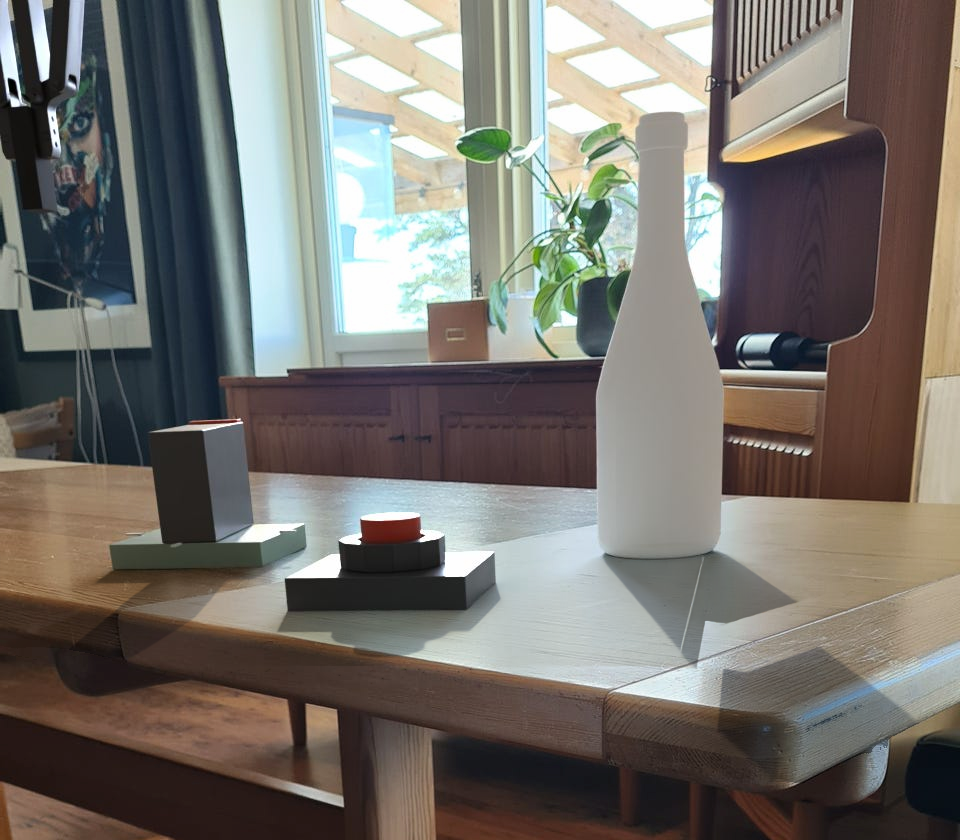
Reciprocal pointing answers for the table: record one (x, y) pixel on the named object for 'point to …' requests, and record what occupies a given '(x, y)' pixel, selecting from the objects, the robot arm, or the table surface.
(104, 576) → the table surface
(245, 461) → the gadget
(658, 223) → the wine bottle
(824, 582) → the table surface
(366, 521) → the button
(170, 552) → the platform
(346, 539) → the switch box
